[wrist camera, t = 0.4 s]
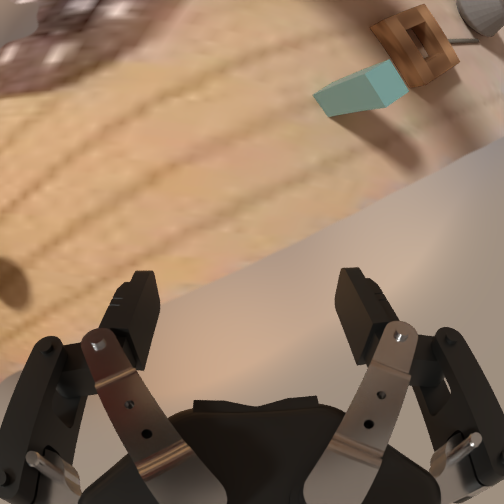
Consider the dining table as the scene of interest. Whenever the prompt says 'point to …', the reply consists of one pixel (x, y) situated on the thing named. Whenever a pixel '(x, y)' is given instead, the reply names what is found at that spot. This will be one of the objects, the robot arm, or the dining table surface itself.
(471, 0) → the coffee pot
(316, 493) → the robot arm
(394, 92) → the peg
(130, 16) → the dining table surface
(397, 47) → the brown square slotted piece
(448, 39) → the dark grey rod
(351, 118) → the dining table surface
